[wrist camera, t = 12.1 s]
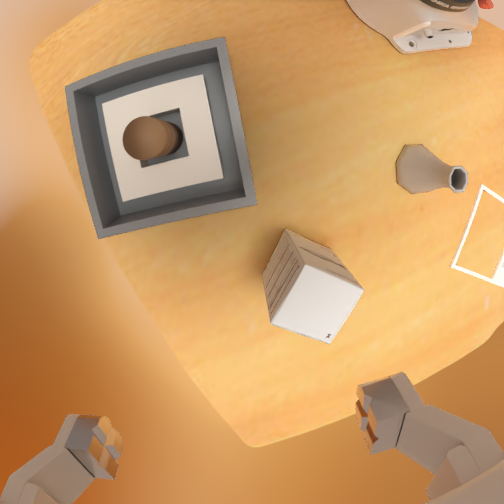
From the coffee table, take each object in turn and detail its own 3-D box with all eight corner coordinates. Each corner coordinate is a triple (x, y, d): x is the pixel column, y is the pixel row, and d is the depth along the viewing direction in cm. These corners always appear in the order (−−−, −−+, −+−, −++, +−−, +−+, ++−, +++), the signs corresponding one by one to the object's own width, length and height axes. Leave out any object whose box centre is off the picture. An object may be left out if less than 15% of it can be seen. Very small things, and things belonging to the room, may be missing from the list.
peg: (179, 118, 34) (160, 110, 24) (186, 150, 35) (169, 153, 26) (147, 127, 34) (118, 123, 25) (154, 158, 35) (127, 165, 26)
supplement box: (332, 248, 42) (367, 290, 30) (306, 293, 44) (329, 347, 32) (284, 225, 40) (305, 262, 28) (259, 274, 42) (268, 326, 30)
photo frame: (504, 288, 46) (451, 267, 43) (501, 285, 47) (447, 265, 44) (531, 219, 41) (482, 184, 39) (527, 218, 42) (478, 183, 40)
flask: (399, 136, 37) (442, 139, 27) (439, 151, 37) (484, 158, 28) (389, 187, 39) (429, 202, 30) (429, 198, 40) (472, 216, 30)
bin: (226, 54, 32) (224, 36, 26) (253, 193, 38) (257, 204, 32) (90, 93, 33) (64, 86, 26) (118, 222, 39) (98, 239, 32)
